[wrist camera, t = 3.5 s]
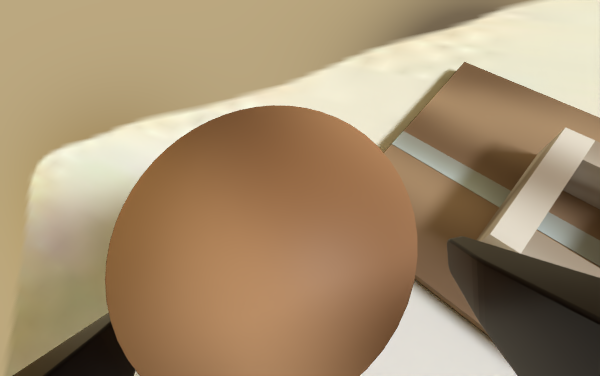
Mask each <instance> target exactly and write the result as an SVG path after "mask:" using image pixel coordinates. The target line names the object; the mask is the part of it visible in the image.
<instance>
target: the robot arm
mask: <svg viewBox="0 0 600 376" xmlns="http://www.w3.org/2000/svg"><path fill="white" fill-rule="evenodd" d="M447 255H448V266H449V270H450V272H451V274H452V276H453V278H454V280H455V281H456V283H457V285H458V287H459V288H460V290H461V292H462V294H463V295H464V297H465V299H466V301H467V302H468V304H469V306H470V307H471V309H472V311H473V313H474V314H475V316H476V318H477V319H478V321H479V323H480V324H481V326H482V327H483V328H484V330H485V331H486V333H487V334H488V336H489V337H490V338H491V340H492V341H493V342H494V344H495V345H496V347H497V348H498V349H499V351H500V352H501V353H502V355H503V356H504V358H505V359H506V360H507V362H508V363H509V364H510V366H511V367H512V369H513V370H514V371H515V373H516V374H517V375H518V376H600V278H599V277H596V276H593V275H589V274H586V273H583V272H579V271H576V270H573V269H570V268H566V267H563V266H560V265H556V264H553V263H550V262H547V261H543V260H540V259H537V258H533V257H530V256H527V255H524V254H520V253H517V252H514V251H510V250H507V249H504V248H501V247H497V246H494V245H491V244H487V243H484V242H481V241H478V240H474V239H471V238H468V237H464V236H460V237H455V238H450V239H448V241H447ZM135 371H136V370H135V369H134V367H133V366H132V365H131V363H130V362H129V361H128V359H127V357H126V356H125V354H124V352H123V350H122V348H121V346H120V344H119V342H118V340H117V338H116V335H115V332H114V329H113V326H112V323H111V321H110V316H109V313H108V314H106V315H105V316H103V317H101V318H100V319H98V320H97V321H95V322H94V323H92V324H91V325H89V326H88V327H86V328H85V329H83V330H82V331H80V332H79V333H77V334H76V335H74V336H72V337H71V338H69V339H68V340H66V341H65V342H63V343H62V344H60V345H59V346H57V347H56V348H54V349H53V350H51V351H50V352H48V353H47V354H45V355H44V356H42V357H40V358H39V359H37V360H36V361H34V362H33V363H31V364H30V365H28V366H27V367H25V368H24V369H22V370H21V371H19V372H18V373H16V374H15V375H13V376H134V374H135Z"/></svg>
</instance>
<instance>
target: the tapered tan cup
mask: <svg viewBox="0 0 600 376" xmlns="http://www.w3.org/2000/svg"><path fill="white" fill-rule="evenodd" d="M417 257H418V254H417V229H416V223H415V216H414V211H413V208H412V205H411V201H410V198H409V195H408V192H407V190H406V188H405V186H404V184H403V181H402V179H401V177H400V175H399V174H398V172H397V171H396V169H395V168H394V166H393V164H392V163H391V161H390V160H389V159H388V158H387V156H386V155H385V154H384V153H383V152H382V150H381V149H380V148H379V147H378V146H377V145H376V144H375V143H374V142H373V141H371V140H370V139H369V138H368V137H367V136H366V135H365V134H363V133H362V132H360V131H359V130H357V129H356V128H354V127H353V126H351V125H350V124H348V123H346V122H344V121H342V120H340V119H338V118H336V117H333V116H331V115H328V114H325V113H323V112H320V111H316V110H311V109H307V108H302V107H294V106H262V107H254V108H249V109H243V110H239V111H236V112H232V113H229V114H226V115H223V116H220V117H218V118H215V119H213V120H211V121H208V122H206V123H205V124H203V125H201V126H199V127H197V128H195V129H193V130H192V131H190V132H189V133H187V134H186V135H184V136H183V137H181V138H180V139H178V140H177V141H176V142H175V143H173V144H172V145H171V146H170V147H168V148H167V149H166V150H165V151H164V152H163V153H162V154H161V155H160V156H159V157H158V158H157V159H156V160H155V161H154V162H153V163H152V164H151V165H150V166H149V168H148V169H147V170H146V171H145V172H144V173H143V175H142V176H141V177H140V179H139V180H138V182H137V183H136V185H135V186H134V187H133V189H132V191H131V192H130V194H129V196H128V198H127V200H126V201H125V203H124V205H123V207H122V209H121V212H120V214H119V216H118V219H117V221H116V224H115V227H114V230H113V233H112V237H111V240H110V244H109V250H108V255H107V261H106V277H105V284H106V300H107V305H108V310H109V316H110V321H111V323H112V326H113V329H114V332H115V335H116V338H117V340H118V342H119V344H120V346H121V348H122V350H123V352H124V354H125V356H126V357H127V359H128V361H129V362H130V363H131V365H132V366H133V367H134V369H135V370H136V371H137V373H138V374H139V375H140V376H360V375H361V374H362V373H363V372H364V371H365V370H366V369H367V368H368V367H369V366H370V365H371V364H372V362H373V361H374V360H375V359H376V358H377V356H378V355H379V354H380V353H381V352H382V351H383V349H384V348H385V346H386V345H387V343H388V342H389V340H390V338H391V337H392V335H393V333H394V332H395V330H396V329H397V327H398V325H399V323H400V320H401V318H402V316H403V314H404V311H405V309H406V307H407V304H408V301H409V298H410V294H411V291H412V287H413V284H414V280H415V272H416V265H417Z"/></svg>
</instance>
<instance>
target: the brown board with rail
mask: <svg viewBox="0 0 600 376" xmlns="http://www.w3.org/2000/svg"><path fill="white" fill-rule="evenodd" d="M384 154H385V155H386V156H387V158H388V159H389V160H390V161H391V163H392V164H393V166H394V168H395V169H396V171H397V172H398V174H399V175H400V177H401V179H402V181H403V184H404V186H405V188H406V190H407V192H408V195H409V198H410V201H411V205H412V208H413V211H414V216H415V223H416V229H417V254H418V257H417V265H416V272H415V280H417V281H418V282H419V283H421V284H422V285H423V286H424V287H426V288H427V289H428V290H430V291H431V292H432V293H434V294H435V295H436V296H437V297H439V298H440V299H441V300H443V301H444V302H445V303H447V304H448V305H449V306H450V307H452V308H453V309H454V310H456V311H457V312H458V313H459V314H461V315H462V316H463V317H465V318H466V319H467V320H469V321H470V322H471V323H472V324H474V325H475V326H476V327H478V328H479V329H480V330H481V331H483V332H484V333H485V334H487V333H486V331H485V330H484V328H483V327H482V326H481V324H480V323H479V321H478V319H477V318H476V316H475V314H474V313H473V311H472V309H471V307H470V306H469V304H468V302H467V301H466V299H465V297H464V295H463V294H462V292H461V290H460V288H459V287H458V285H457V283H456V281H455V280H454V278H453V276H452V274H451V272H450V270H449V266H448V255H447V241H448V239H450V238H455V237H460V236H464V237H468V238H471V239H474V240H478V241H481V242H484V243H487V244H491V245H494V246H497V247H501V248H504V249H507V250H510V251H514V252H517V253H520V254H524V255H527V256H530V257H533V258H537V259H540V260H543V261H547V262H550V263H553V264H556V265H560V266H563V267H566V268H570V269H573V270H576V271H579V272H583V273H586V274H589V275H593V276H596V277H599V278H600V118H599V117H596V116H594V115H592V114H589V113H587V112H584V111H582V110H579V109H577V108H575V107H572V106H570V105H567V104H565V103H563V102H560V101H558V100H555V99H553V98H550V97H548V96H546V95H543V94H541V93H538V92H536V91H534V90H531V89H529V88H526V87H524V86H521V85H519V84H517V83H514V82H512V81H509V80H507V79H505V78H502V77H500V76H497V75H495V74H492V73H490V72H488V71H485V70H483V69H480V68H478V67H476V66H473V65H471V64H468V63H466V62H464V63H463V64H462V65H461V67H460V68H459V69H458V70H457V71H456V72H455V73H454V74H453V76H452V77H451V78H450V79H449V80H448V81H447V82H446V83H445V85H444V86H443V87H442V88H441V89H440V90H439V91H438V93H437V94H436V95H435V96H434V97H433V98H432V99H431V100H430V102H429V103H428V104H427V105H426V106H425V107H424V108H423V109H422V111H421V112H420V113H419V114H418V115H417V116H416V117H415V118H414V120H413V121H412V122H411V123H410V124H409V125H408V126H407V127H406V129H405V130H404V131H403V132H402V133H401V134H400V135H399V136H398V137H397V138H396V140H395V141H394V142H393V143H392V144H391V145H390V147H389V148H388V149H387V150H386V151H385V152H384ZM487 335H488V334H487Z"/></svg>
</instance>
